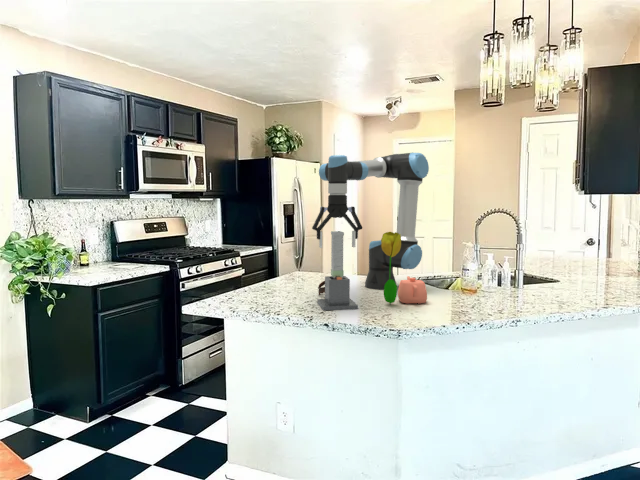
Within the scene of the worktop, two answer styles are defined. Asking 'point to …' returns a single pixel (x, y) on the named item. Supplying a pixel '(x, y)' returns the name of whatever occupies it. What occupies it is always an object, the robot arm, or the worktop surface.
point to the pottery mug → (321, 290)
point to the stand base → (337, 295)
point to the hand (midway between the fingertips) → (337, 247)
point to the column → (337, 254)
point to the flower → (390, 248)
